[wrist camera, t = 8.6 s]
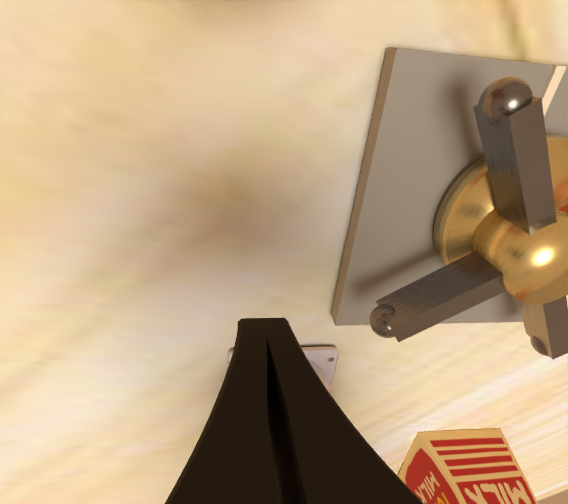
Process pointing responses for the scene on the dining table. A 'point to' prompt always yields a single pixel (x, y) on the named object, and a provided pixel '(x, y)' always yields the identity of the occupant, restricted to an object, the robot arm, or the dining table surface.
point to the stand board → (425, 172)
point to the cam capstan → (498, 228)
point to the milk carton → (464, 469)
